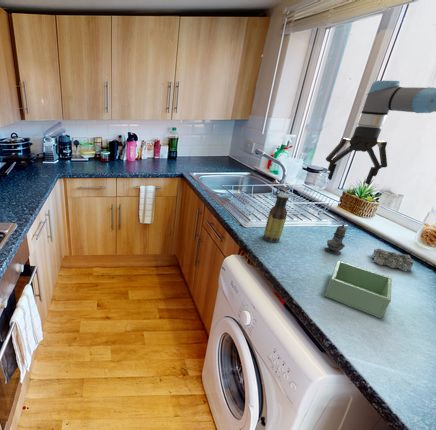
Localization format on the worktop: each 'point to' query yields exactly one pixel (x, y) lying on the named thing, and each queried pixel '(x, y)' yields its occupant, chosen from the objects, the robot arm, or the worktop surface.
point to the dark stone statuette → (336, 241)
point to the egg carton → (392, 259)
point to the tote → (360, 288)
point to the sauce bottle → (276, 219)
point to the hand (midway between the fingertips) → (347, 181)
